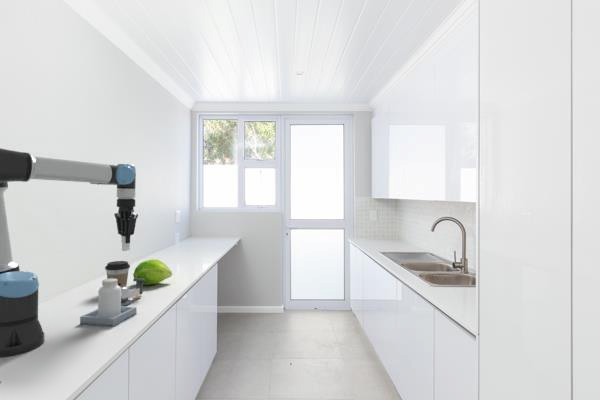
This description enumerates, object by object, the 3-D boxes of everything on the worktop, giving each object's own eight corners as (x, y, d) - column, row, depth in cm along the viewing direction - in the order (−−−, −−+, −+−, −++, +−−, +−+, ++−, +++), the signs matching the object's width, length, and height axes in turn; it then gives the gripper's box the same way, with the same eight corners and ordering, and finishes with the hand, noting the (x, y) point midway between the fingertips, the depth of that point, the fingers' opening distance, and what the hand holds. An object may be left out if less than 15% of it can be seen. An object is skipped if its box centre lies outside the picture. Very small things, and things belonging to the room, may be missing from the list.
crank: (123, 303, 152) (123, 286, 152) (112, 302, 153) (112, 285, 153) (146, 294, 166) (146, 278, 166) (136, 293, 168) (136, 277, 167)
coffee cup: (101, 296, 167) (102, 265, 167) (108, 289, 178) (108, 261, 178) (127, 294, 170) (127, 264, 170) (132, 288, 181) (132, 260, 181)
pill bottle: (111, 321, 132) (111, 282, 132) (93, 319, 134) (93, 281, 134) (125, 314, 140) (125, 278, 140) (108, 313, 142) (108, 277, 141)
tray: (113, 326, 129) (113, 319, 129) (80, 323, 131) (80, 316, 131) (136, 313, 143) (136, 307, 143) (106, 311, 145) (106, 305, 145)
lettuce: (170, 286, 185) (170, 261, 185) (129, 288, 181) (129, 262, 180) (173, 279, 200) (173, 256, 200) (135, 281, 195) (136, 257, 195)
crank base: (123, 307, 151) (123, 304, 151) (109, 306, 152) (109, 303, 152) (146, 296, 167) (146, 294, 167) (133, 295, 168) (133, 293, 168)
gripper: (143, 198, 156) (142, 250, 156) (123, 198, 161) (123, 248, 162) (128, 198, 149) (128, 252, 149) (109, 198, 154) (108, 250, 155)
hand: (125, 250), depth 155 cm, fingers closed
